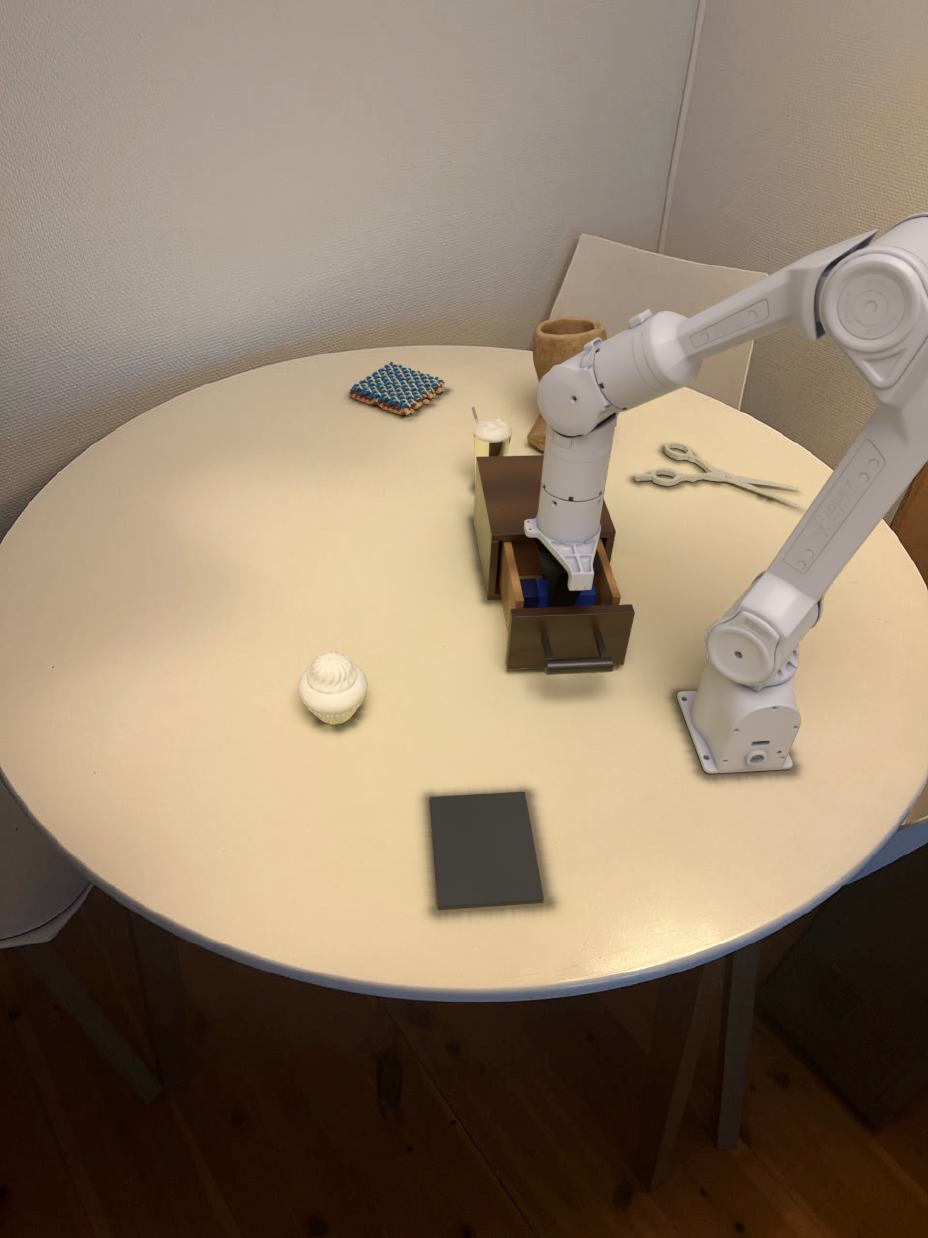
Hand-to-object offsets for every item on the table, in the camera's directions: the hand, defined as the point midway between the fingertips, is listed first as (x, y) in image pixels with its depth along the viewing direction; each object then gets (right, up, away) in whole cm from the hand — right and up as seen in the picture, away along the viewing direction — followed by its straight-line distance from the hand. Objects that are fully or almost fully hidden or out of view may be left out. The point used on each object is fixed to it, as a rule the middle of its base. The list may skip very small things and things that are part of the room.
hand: (557, 599), depth 88 cm
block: (0, -1, +1) cm, 1 cm away
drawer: (0, -4, +1) cm, 4 cm away
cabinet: (-1, +5, +12) cm, 13 cm away
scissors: (+23, +15, +24) cm, 37 cm away
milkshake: (-7, +14, +22) cm, 27 cm away
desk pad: (-8, -20, -17) cm, 28 cm away
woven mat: (-19, +30, +38) cm, 52 cm away
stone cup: (+4, +23, +32) cm, 39 cm away
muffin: (-21, -11, -7) cm, 25 cm away
